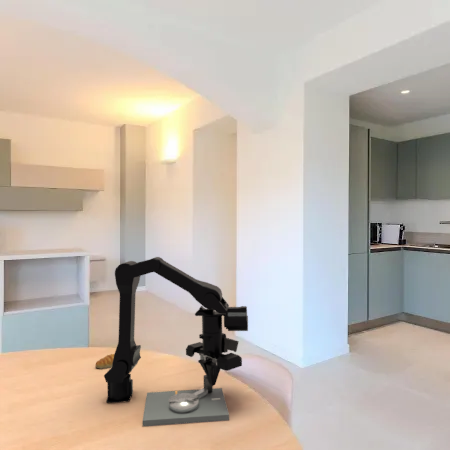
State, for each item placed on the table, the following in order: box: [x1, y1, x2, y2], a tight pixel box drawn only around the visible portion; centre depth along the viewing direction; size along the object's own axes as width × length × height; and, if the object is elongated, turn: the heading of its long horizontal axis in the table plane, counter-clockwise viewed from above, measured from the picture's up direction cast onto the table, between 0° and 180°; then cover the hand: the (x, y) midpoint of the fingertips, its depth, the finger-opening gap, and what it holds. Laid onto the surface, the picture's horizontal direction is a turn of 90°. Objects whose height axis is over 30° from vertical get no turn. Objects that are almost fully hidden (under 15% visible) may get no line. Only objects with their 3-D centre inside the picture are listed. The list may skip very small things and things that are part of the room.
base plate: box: [142, 387, 230, 427], centre depth 108 cm, size 22×16×2 cm
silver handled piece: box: [169, 374, 214, 413], centre depth 109 cm, size 15×8×5 cm, turn 142°
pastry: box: [95, 353, 115, 370], centre depth 140 cm, size 9×7×4 cm
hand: (213, 385), depth 112 cm, fingers closed
